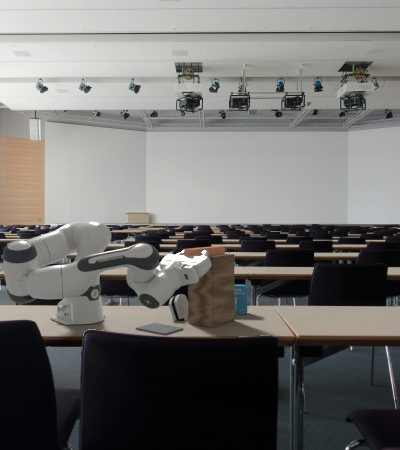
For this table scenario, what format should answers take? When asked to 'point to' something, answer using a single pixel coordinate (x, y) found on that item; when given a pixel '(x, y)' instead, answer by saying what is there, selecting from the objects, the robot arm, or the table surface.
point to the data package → (240, 299)
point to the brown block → (213, 294)
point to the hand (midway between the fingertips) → (196, 251)
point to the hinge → (179, 307)
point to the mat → (159, 328)
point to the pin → (211, 250)
